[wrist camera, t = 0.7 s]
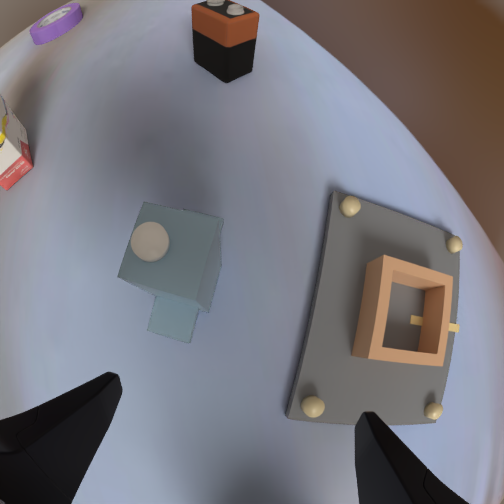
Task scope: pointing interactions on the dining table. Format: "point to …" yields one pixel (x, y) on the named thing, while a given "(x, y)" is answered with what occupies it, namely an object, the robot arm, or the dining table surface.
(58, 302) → the dining table surface
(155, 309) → the block
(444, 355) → the chassis plate
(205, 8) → the battery
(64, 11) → the masking tape
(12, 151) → the ink cartridge box
